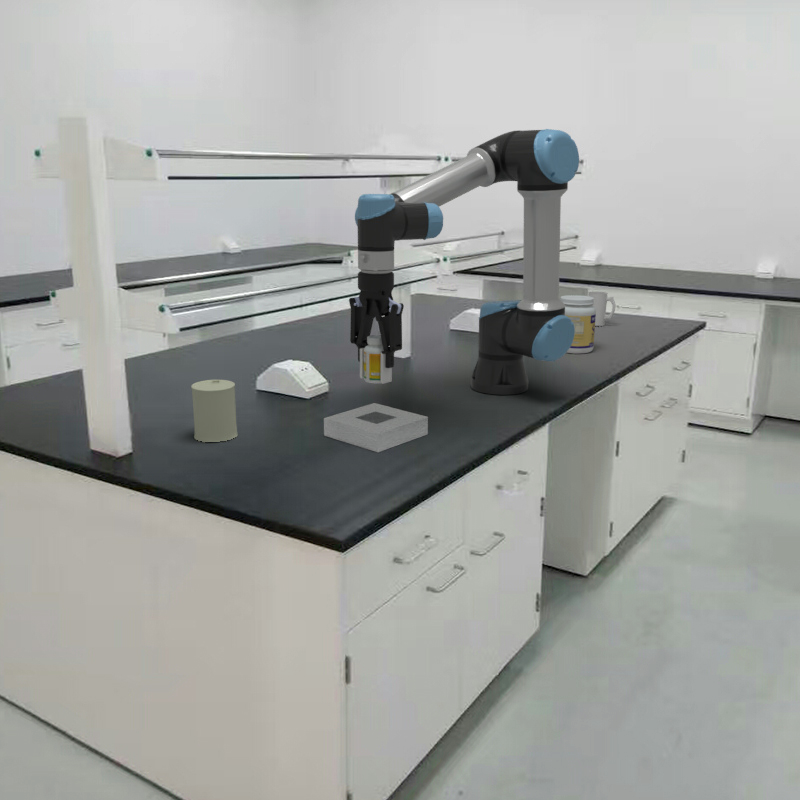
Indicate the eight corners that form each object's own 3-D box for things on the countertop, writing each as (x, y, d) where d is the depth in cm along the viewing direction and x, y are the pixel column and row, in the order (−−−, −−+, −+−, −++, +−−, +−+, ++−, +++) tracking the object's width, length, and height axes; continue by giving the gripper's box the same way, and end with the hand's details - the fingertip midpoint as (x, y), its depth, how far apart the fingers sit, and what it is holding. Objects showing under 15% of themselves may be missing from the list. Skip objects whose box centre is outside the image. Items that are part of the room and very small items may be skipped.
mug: (584, 326, 305) (586, 293, 301) (588, 322, 310) (591, 290, 307) (611, 328, 300) (614, 295, 297) (615, 325, 306) (618, 292, 303)
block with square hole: (374, 419, 193) (374, 402, 192) (427, 434, 183) (427, 416, 182) (324, 435, 181) (323, 418, 180) (377, 452, 171) (377, 433, 170)
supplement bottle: (358, 380, 179) (358, 336, 176) (376, 376, 182) (376, 333, 180) (376, 385, 175) (376, 340, 172) (394, 380, 179) (394, 336, 176)
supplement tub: (596, 354, 259) (600, 300, 255) (557, 354, 260) (560, 300, 255) (589, 346, 271) (592, 294, 266) (551, 345, 271) (554, 294, 267)
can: (240, 429, 185) (238, 377, 182) (234, 443, 176) (231, 388, 173) (198, 429, 185) (195, 377, 182) (190, 443, 176) (186, 388, 173)
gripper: (331, 268, 175) (333, 375, 182) (397, 276, 164) (396, 390, 170) (356, 265, 181) (357, 369, 187) (421, 273, 169) (419, 384, 175)
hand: (375, 379), depth 178 cm, fingers closed on supplement bottle, 5 cm apart
